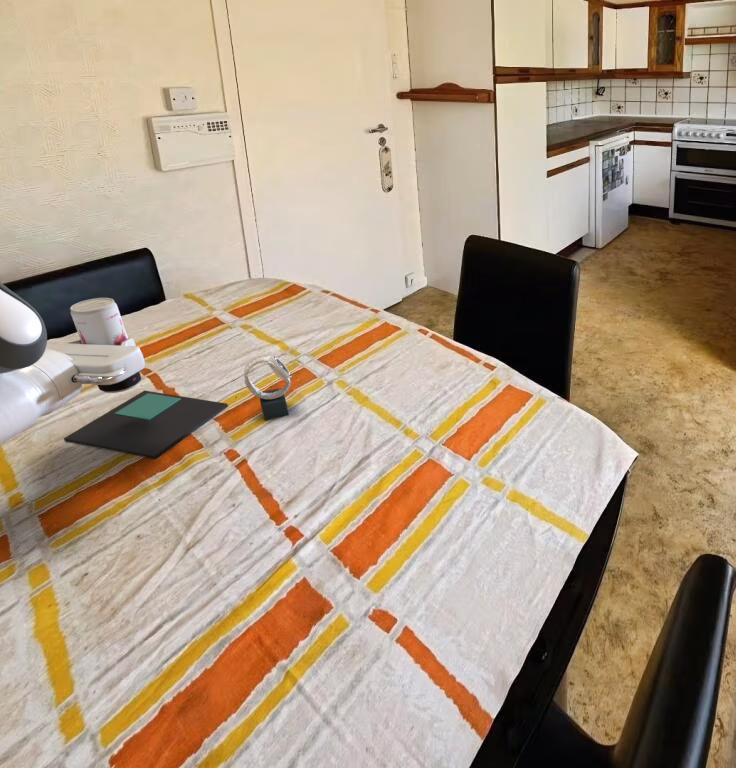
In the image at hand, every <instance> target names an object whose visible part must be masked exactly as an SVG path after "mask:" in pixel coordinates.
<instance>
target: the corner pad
mask: <svg viewBox="0 0 736 768" xmlns="http://www.w3.org/2000/svg"><path fill="white" fill-rule="evenodd" d="M179 400H181V398H175V397H169V396H163V395H157V394H150V393H148V394H146V395H144V396H143V397H141V398H139V399H138V400H136V401H134V402H133V403H131V404H129V405H128V406H126V407H124V408H123V409H121V410H119V411H118V412H116V413H115V414H117V415H122V416H128V417H134V418H140V419H145V420H150V419H151V418H153V417H154V416H156V415H158V414H159V413H161V412H162V411H164V410H165V409H167V408H168V407H170V406H171V405H173V404H175V403H176V402H178V401H179Z"/></svg>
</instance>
